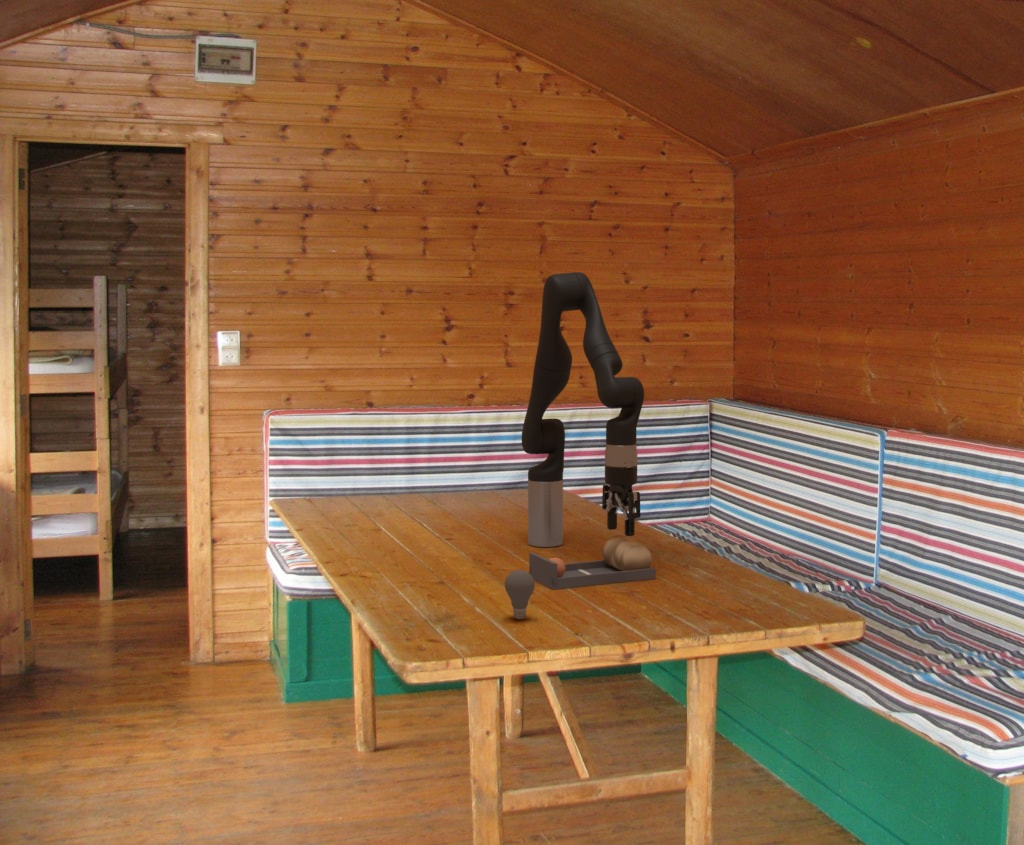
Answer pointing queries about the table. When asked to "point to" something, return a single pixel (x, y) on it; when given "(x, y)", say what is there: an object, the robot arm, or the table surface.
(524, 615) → the light bulb
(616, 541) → the log roller
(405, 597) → the table surface
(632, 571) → the runway
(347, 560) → the table surface
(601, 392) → the robot arm
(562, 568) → the ball
